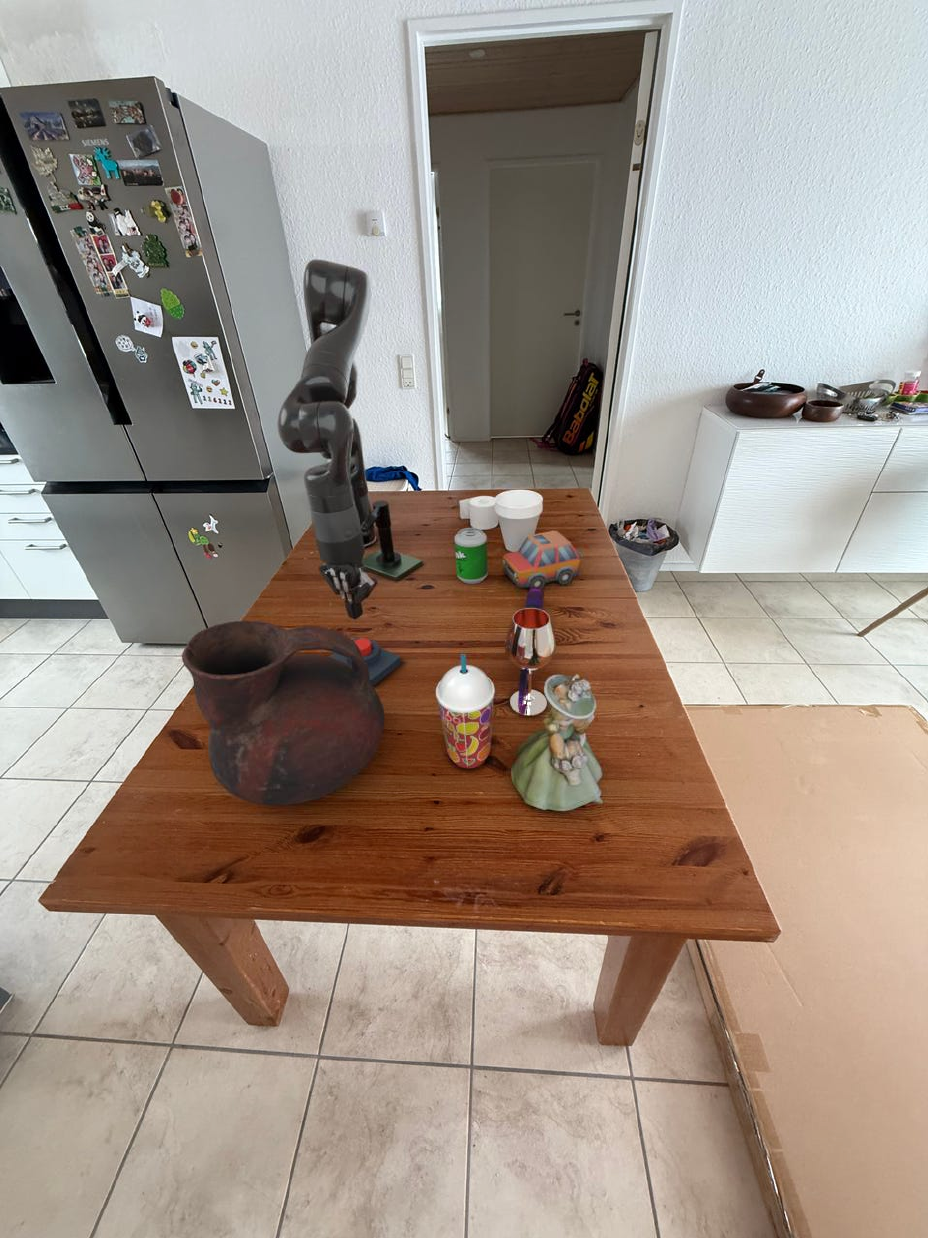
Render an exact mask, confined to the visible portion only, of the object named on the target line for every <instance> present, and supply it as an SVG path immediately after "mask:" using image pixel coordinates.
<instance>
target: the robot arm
mask: <svg viewBox="0 0 928 1238" xmlns="http://www.w3.org/2000/svg"><path fill="white" fill-rule="evenodd" d="M302 282H303V286H302V287H303V288H302V289H303V301H304V308H305V314H306V320H307V327H308V332H309V338H310V347H309V348H308V350H307V352H306V354H305V357H304V362H303V366H302V371H301V375H300V380H299V381H298V382H296V384H295V385H294V387H293V388H292V390H291V391H290V393H289V394H288V396H287V397H286V398H285V399H284V401H283V403H282V404H281V408H280V410H279V413H278V417H277V431H278V436H279V438H280V440H281V442H282V444H283V446H284V447H286V448H287V449H288V450H289V451H291V452H293V453H295V454H318V453H319V454H320V455H321V456H322V458H324V459H326V460H330V461H328V462H325V463H322V464H318V465H315V466H312V467H310V468H309V469H307V470H306V472H305V473H304V475H303V483H304V487H305V492H306V495H307V500H308V505H309V509H310V518H311V523H312V524H311V525H312V529H313V533H314V536H315V537H314V538H315V541H316V546H317V550H318V554H319V558H320V560H321V561H322V562H323V564H322V565H320V566H318V571H319V573H320V575H321V576H322V578H324V581H326V583H327V584H328V586H329V587H330V589H331V590H332V592H333V593H334V595H336V596H340V598H341V600H342V601H343V602H344V606H345V610H346V613H347V617H348V618H350V619H353V620H357V619H359V618H360V617H361V616H362V615H363V614H364V611H363V605H362V602H363V601H365V600H366V599H368V598H369V597H370V595H371V594H372V592H373V591H374V590H375V587H376V586H377V584H378V583H379V582H378V579H377V578H376V577H372V578H370V576H369V575H368V574H367V573H366V572H367V570H366V569H365V566H364V564H363V562H362V559H364V555H365V552H366V548H368V547H371V546H372V545H374V544H375V543H376V542H377V535H376V529H375V527H376V524H375V523H374V524H373V526H372V527H371V528H370V530H369V533H370V538H371V541H370V543H369V544H364V543H363V537H362V531H361V525H362V524H363V522H364V521H365V520H366V519H367V517H368V516H369V515H370V514H371V512H372V511H373V509H372V506H371V505H372V504H371V499H370V491H369V488H368V480H367V475H366V467H365V460H364V459H365V458H364V451H363V441H362V434H361V430H360V426H359V423H358V421H357V419H355V418H354V417H353V416H352V414H351V412H350V408H351V407H352V406H353V404H354V402H355V401H356V399H357V394H358V379H359V378H358V374H359V371H358V367H357V363H356V362H355V360H354V359H355V356H356V353H357V351H358V348H359V346H360V344H361V340H362V337H363V334H364V331H365V329H366V325H367V322H368V319H369V313H370V306H371V281H370V278H369V276H368V274H367V273H366V272H365V271H364V270H362V269H360V268H357V267H355V266H350V265H346V264H342V263H338V262H334V261H329V260H325V259H318V258H316V259H311V260H309V261H308V263H307V264H306V265H305V269H304V272H303V281H302ZM332 326H334V327H332Z"/></svg>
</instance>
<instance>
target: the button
mask: <svg viewBox="0 0 928 1238" xmlns="http://www.w3.org/2000/svg"><path fill="white" fill-rule="evenodd" d="M369 640H370V639H367V638H361V639H358V640H356V641H354V642H355V643H356V645H357V646H358V647H359V649H360V652H361V655H362V657H363V656H366V655H369V654H370V653H371V652H372V647H371V642H370V641H369Z"/></svg>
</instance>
